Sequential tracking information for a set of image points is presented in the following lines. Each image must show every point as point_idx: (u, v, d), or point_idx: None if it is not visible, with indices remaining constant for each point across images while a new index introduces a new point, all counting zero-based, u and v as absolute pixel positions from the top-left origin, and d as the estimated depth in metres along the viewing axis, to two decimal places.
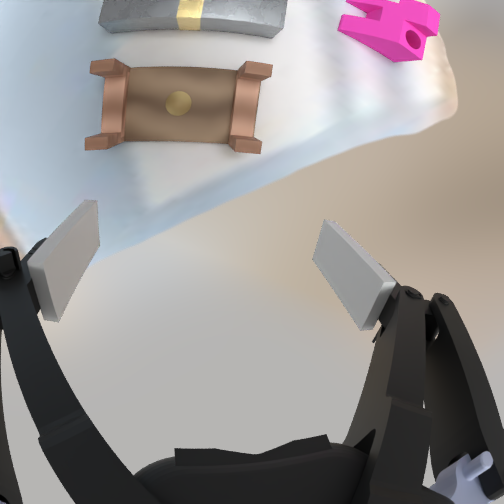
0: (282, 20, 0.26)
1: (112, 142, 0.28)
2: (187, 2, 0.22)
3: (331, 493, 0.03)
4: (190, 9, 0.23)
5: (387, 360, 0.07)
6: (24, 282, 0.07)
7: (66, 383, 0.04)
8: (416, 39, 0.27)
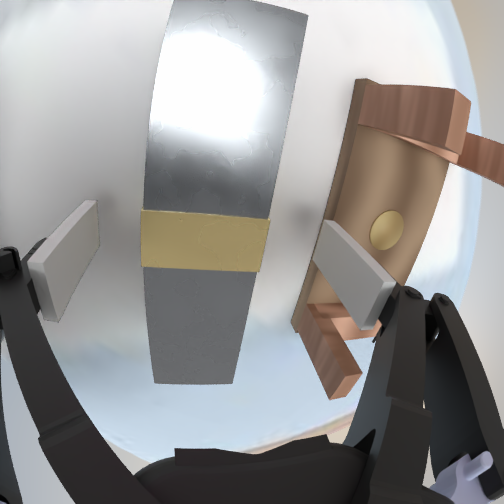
0: (282, 12, 0.09)
1: None
2: (215, 254, 0.14)
3: (331, 493, 0.03)
4: (239, 245, 0.14)
5: (387, 360, 0.07)
6: (24, 282, 0.07)
7: (66, 383, 0.04)
8: None
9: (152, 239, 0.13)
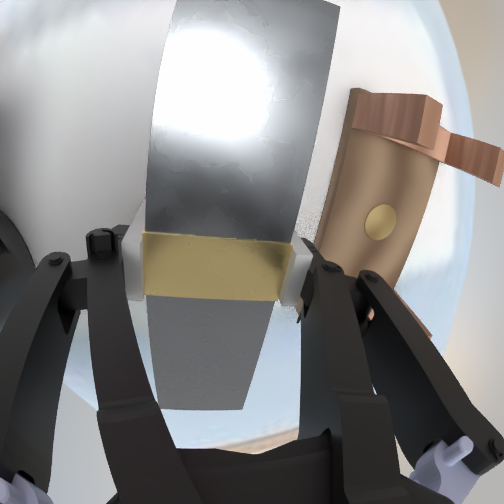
0: (311, 1, 0.07)
1: (419, 323, 0.23)
2: (229, 282, 0.12)
3: (331, 493, 0.03)
4: (257, 273, 0.12)
5: (320, 347, 0.07)
6: (118, 265, 0.09)
7: (142, 368, 0.05)
8: None
9: (156, 265, 0.11)
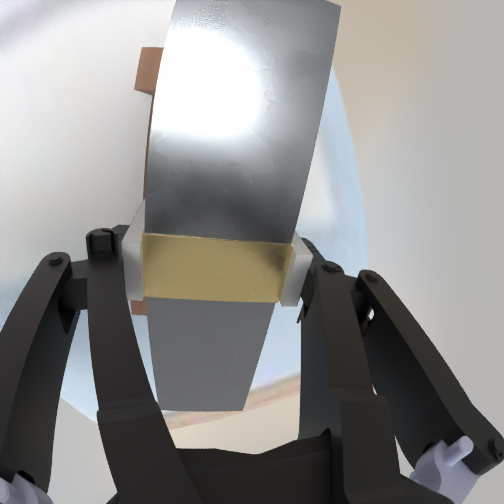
0: (312, 0, 0.07)
1: None
2: (229, 283, 0.12)
3: (331, 493, 0.03)
4: (257, 274, 0.12)
5: (320, 347, 0.07)
6: (118, 265, 0.09)
7: (142, 368, 0.05)
8: None
9: (155, 267, 0.11)
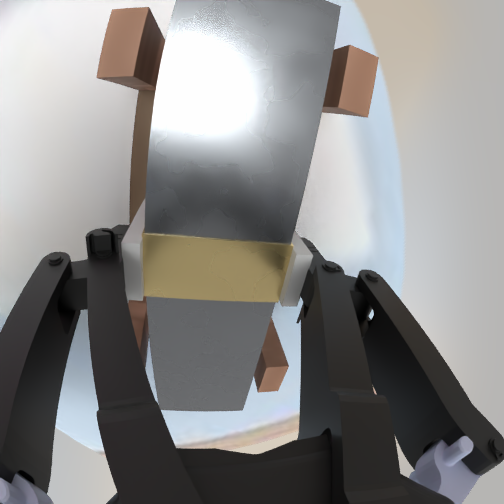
0: (311, 1, 0.07)
1: (273, 345, 0.18)
2: (229, 283, 0.12)
3: (331, 493, 0.03)
4: (257, 274, 0.12)
5: (320, 347, 0.07)
6: (119, 265, 0.09)
7: (142, 368, 0.05)
8: None
9: (155, 267, 0.11)
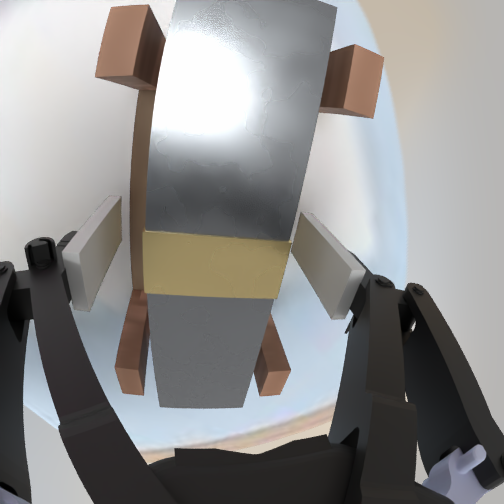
0: (308, 2, 0.07)
1: (276, 349, 0.18)
2: (229, 280, 0.12)
3: (331, 493, 0.03)
4: (256, 271, 0.12)
5: (363, 353, 0.07)
6: (58, 273, 0.07)
7: (94, 375, 0.05)
8: None
9: (156, 264, 0.11)
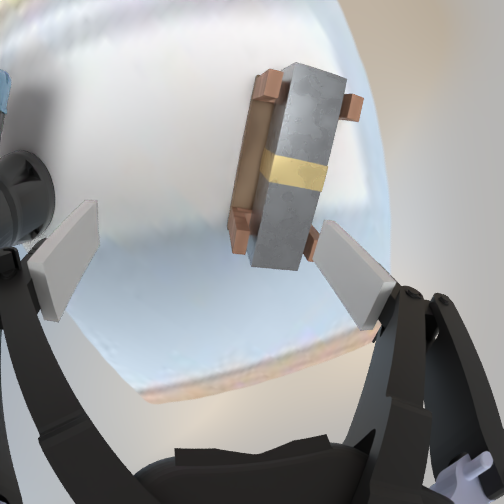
0: (337, 77, 0.24)
1: (316, 234, 0.35)
2: (303, 179, 0.29)
3: (331, 493, 0.03)
4: (314, 176, 0.29)
5: (387, 360, 0.07)
6: (24, 282, 0.07)
7: (66, 383, 0.04)
8: None
9: (277, 168, 0.28)
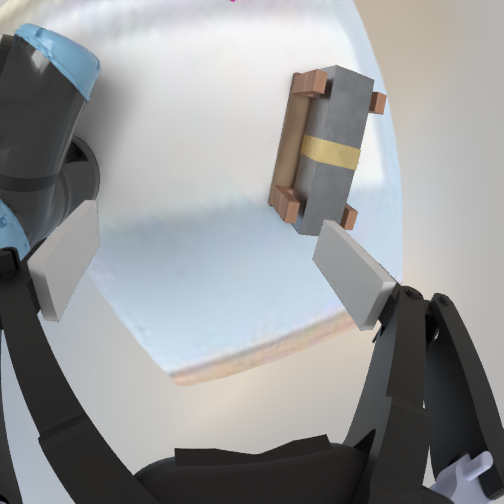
0: (367, 78, 0.29)
1: (349, 206, 0.40)
2: (342, 160, 0.34)
3: (331, 493, 0.03)
4: (350, 158, 0.34)
5: (387, 360, 0.07)
6: (24, 282, 0.07)
7: (66, 383, 0.04)
8: None
9: (323, 150, 0.33)
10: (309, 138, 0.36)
